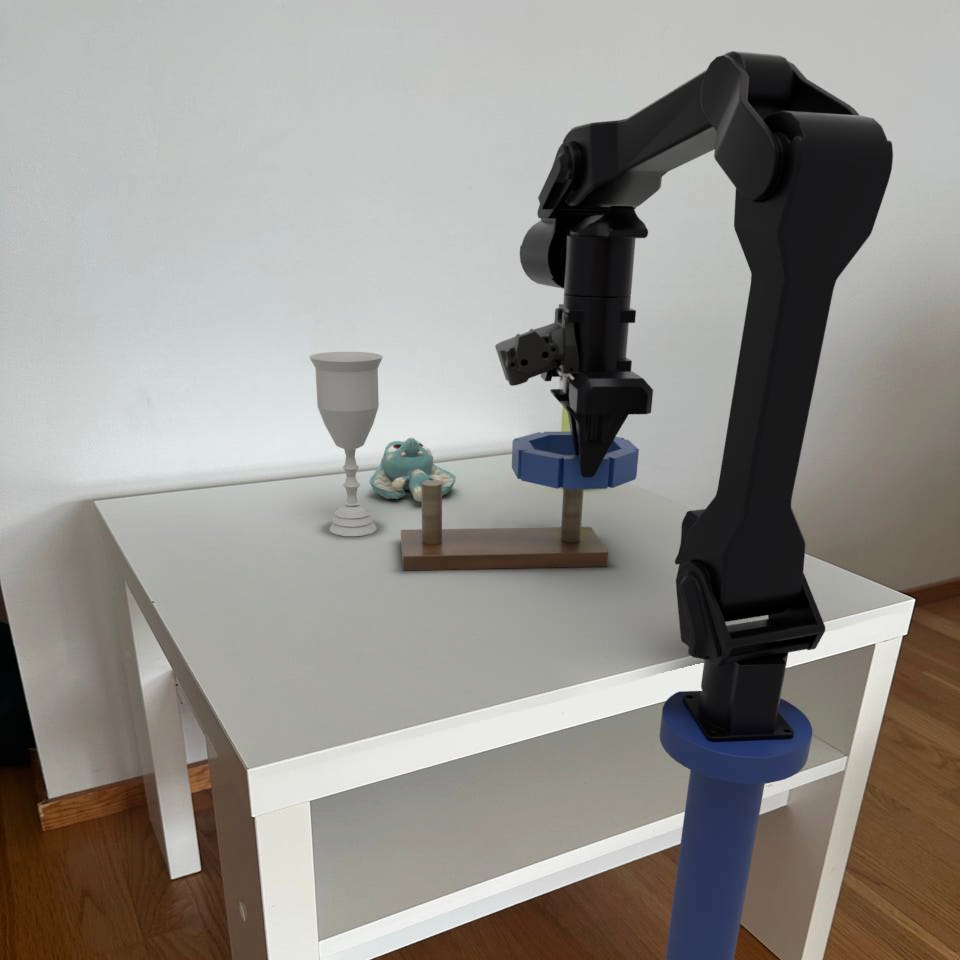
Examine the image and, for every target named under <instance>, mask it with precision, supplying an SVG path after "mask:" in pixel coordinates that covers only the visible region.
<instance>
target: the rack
mask: <svg viewBox="0 0 960 960" xmlns="http://www.w3.org/2000/svg"><path fill="white" fill-rule="evenodd" d="M562 489H563V488H562ZM421 490H422V501H421V529H420V528H419V529H401V530H400V547H401V548H400V549H401V560H402V570H403V571H440V570H441V571H445V570H446V571H447V570H448V571H449V570H453V571H454V570H493V569H494V570H495V569H496V570H497V569H500V570H501V569H543V568H544V569H547V568H550V569H551V568H593V567H595V568H596V567H598V568H599V567H607V566H608V560H609V551H608V550H607V548H606V547H605V546H604V544H603V542H602V541H601V540H600V538H599V536H598V535H597V534H596V532H595V531H594V529H593V527H591V526H582V519H583V504H584V491H585V489H563V490H562V504H561V505H562V507H561V521H560V522H561V524H560V526H559V527H557V526H555V527H551V526H550V527H497V528H496V527H493V528H492V527H491V528H489V527H487V528H443V495H442V482H440V481H435V480H428V481H424V482H422V483H421Z"/></svg>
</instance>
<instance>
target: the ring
mask: <svg viewBox="0 0 960 960" xmlns="http://www.w3.org/2000/svg"><path fill="white" fill-rule="evenodd" d="M511 443H512V444H511V445H512V446H511V447H512V448H511V469H512V471H513V473H514V475H515V477H516V479H518V480H520V481H522V482H525V483H531V484H535V485H539V486H544V487H549V488H553V489H560V488H562V489H584V490H600V489H601V490H608V488H610V489H614V488H616V487H619V486H622V485H624V484H628V483H630V482H633V481H635V480H636V479H637V475H638V463H639V455H640V454H639V453H640V452H639V451H640V449H639V448H638V447H637V446H636V445H635V444H634V443H632V442H631V441H630V440H629V439H628V438H627V439H626V438H625V437H620V436H616V437H615V439H614V440H613V442H612V444H611V446H610V448H609V449H608V451H607V453H606V455H605V457H604V459H603V460H602V462H601V464H600V466H599V468H598V470H597V472H596V473H595V475H594V476H593V477H583V476H582V475H581V467H580V458H579V455H575V453H574V448H573V442H572V436H571V432H561V431H543V432H541V431H538V432H534V433H529V434H526V435H523V436H519V437H516V438H514V439H513V440H512V441H511Z"/></svg>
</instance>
